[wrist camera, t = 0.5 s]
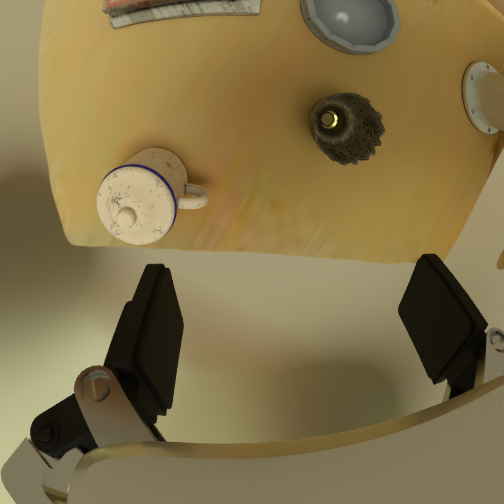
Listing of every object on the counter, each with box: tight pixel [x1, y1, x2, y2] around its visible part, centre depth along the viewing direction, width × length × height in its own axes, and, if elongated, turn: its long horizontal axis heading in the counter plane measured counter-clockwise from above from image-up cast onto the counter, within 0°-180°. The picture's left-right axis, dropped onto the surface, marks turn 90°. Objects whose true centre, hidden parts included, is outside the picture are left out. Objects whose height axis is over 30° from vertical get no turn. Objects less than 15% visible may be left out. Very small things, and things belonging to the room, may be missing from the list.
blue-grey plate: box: [300, 0, 400, 54], centre depth 20 cm, size 12×12×2 cm
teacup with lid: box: [97, 148, 209, 245], centre depth 28 cm, size 12×9×12 cm
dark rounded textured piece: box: [309, 93, 385, 165], centre depth 26 cm, size 8×7×8 cm
